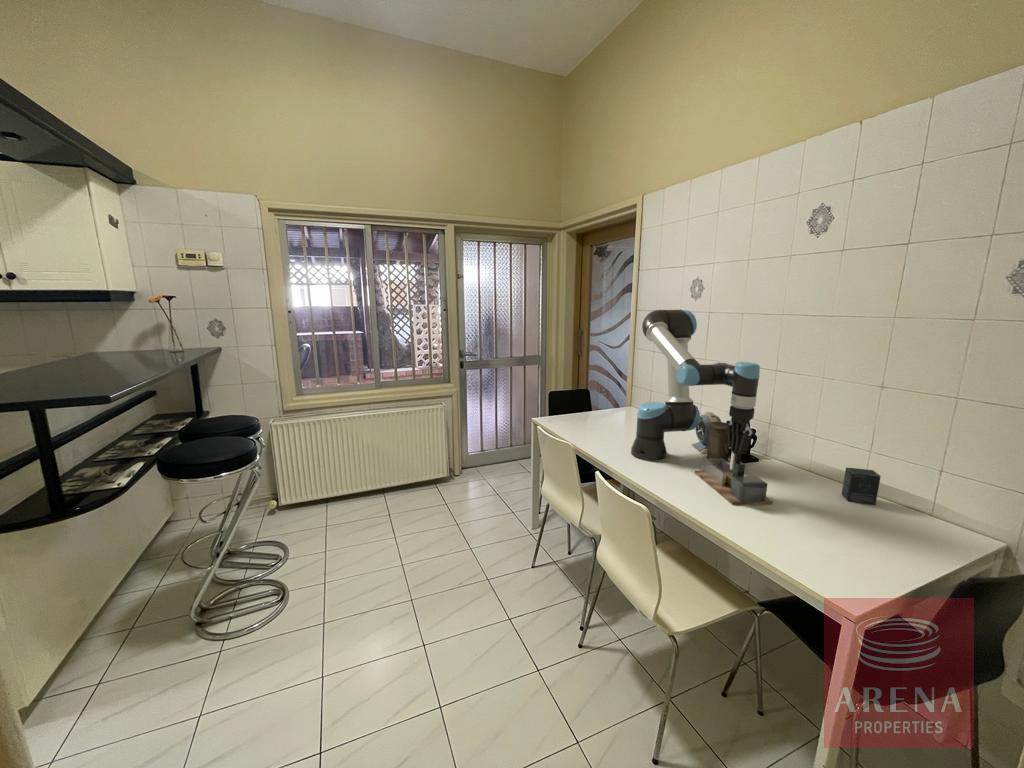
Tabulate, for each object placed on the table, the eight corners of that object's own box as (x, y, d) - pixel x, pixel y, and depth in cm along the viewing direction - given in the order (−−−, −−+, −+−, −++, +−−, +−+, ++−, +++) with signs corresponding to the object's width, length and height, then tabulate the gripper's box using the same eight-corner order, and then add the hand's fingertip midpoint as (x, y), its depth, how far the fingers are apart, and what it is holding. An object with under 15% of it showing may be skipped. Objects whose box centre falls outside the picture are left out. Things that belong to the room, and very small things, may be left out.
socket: (730, 493, 141) (732, 476, 140) (753, 493, 141) (756, 476, 140) (740, 501, 135) (742, 483, 134) (765, 501, 135) (767, 483, 134)
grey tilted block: (702, 470, 160) (703, 458, 159) (721, 470, 161) (722, 458, 160) (721, 486, 147) (723, 473, 146) (742, 485, 147) (744, 472, 146)
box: (867, 498, 140) (873, 469, 138) (875, 505, 135) (881, 476, 133) (840, 494, 143) (845, 466, 141) (847, 501, 138) (852, 472, 136)
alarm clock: (690, 443, 194) (693, 408, 191) (710, 444, 194) (714, 408, 190) (702, 454, 180) (706, 416, 177) (724, 455, 180) (729, 417, 176)
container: (706, 468, 165) (710, 426, 162) (703, 460, 174) (707, 420, 170) (730, 471, 162) (735, 428, 159) (726, 463, 171) (731, 422, 167)
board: (694, 472, 161) (694, 470, 160) (728, 472, 161) (728, 470, 161) (732, 504, 135) (732, 502, 135) (772, 504, 136) (772, 501, 136)
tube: (721, 481, 150) (724, 456, 148) (732, 481, 150) (735, 456, 148) (744, 499, 136) (748, 472, 134) (756, 499, 136) (760, 472, 134)
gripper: (721, 401, 147) (714, 462, 152) (743, 411, 134) (734, 476, 139) (741, 401, 147) (734, 462, 152) (764, 411, 135) (755, 476, 140)
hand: (734, 469), depth 146 cm, fingers closed
